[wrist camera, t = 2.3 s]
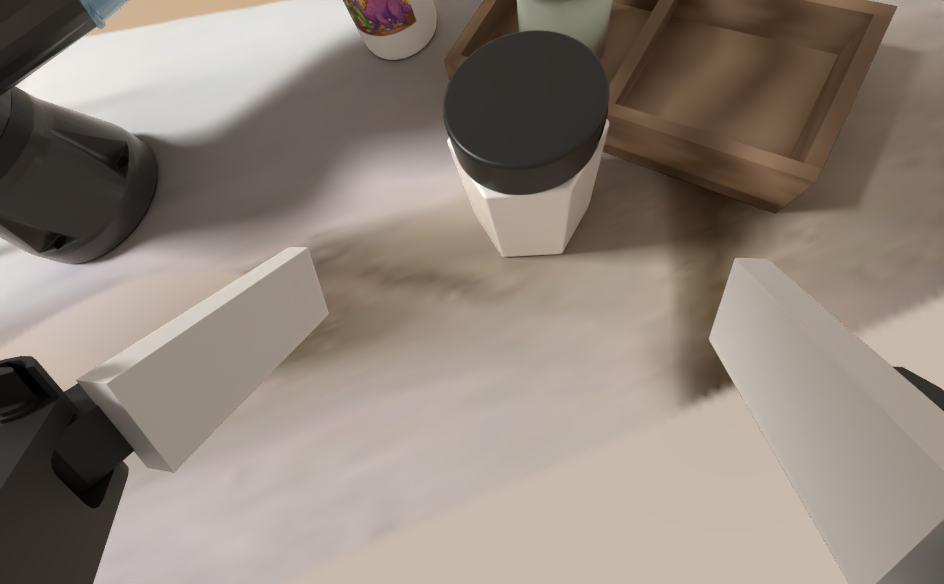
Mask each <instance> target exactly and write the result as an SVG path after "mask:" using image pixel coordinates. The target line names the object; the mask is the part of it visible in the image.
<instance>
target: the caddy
mask: <svg viewBox="0 0 944 584" xmlns="http://www.w3.org/2000/svg"><path fill="white" fill-rule="evenodd" d="M896 8H897V6H893V5H888V4H882V3H877V2H872V1H867V0H613V4H612V9H611V15H610V20H609V26H608V31H607V37H606V43H605V48H604V53H603V56H602V58H601V60H600V61H601V63H602V64H603V66H604V68H605V71H606V73H607V76H608V81H609V103H608V115H607V119H608V121H609V128H608V132H607V136H606V140H605V144H604V148H603V152H605V153H608V154H611V155H614V156H617V157H619V158H622V159H625V160H628V161H630V162H633V163H636V164H639V165H642V166H644V167H647V168H650V169H653V170H656V171H658V172H661V173H664V174H667V175H670V176H672V177H675V178H678V179H681V180H683V181H686V182H689V183H692V184H695V185H697V186H700V187H703V188H706V189H709V190H711V191H714V192H717V193H720V194H723V195H725V196H728V197H731V198H734V199H736V200H739V201H742V202H745V203H748V204H750V205H753V206H756V207H759V208H762V209H764V210H767V211H770V212H773V213H776V212H778V211H779V210H780V209H782V208H783V207H784V206H786V205H787V204H788V203H790V202H791V201H792V200H794V199H795V198H796V197H798V196H799V195H800V194H802V193H803V192H804V191H806V190H807V189H808V188H809V187H811V186H812V185H813V184H815V183H816V182H817V180H818V177H819V175H820V173H821V171H822V169H823V167H824V164H825V162H826V160H827V158H828V156H829V154H830V151H831V149H832V147H833V145H834V143H835V141H836V138H837V136H838V134H839V132H840V130H841V127H842V125H843V123H844V121H845V119H846V117H847V114H848V112H849V110H850V108H851V106H852V104H853V101H854V99H855V97H856V95H857V93H858V91H859V88H860V86H861V84H862V82H863V80H864V78H865V75H866V73H867V71H868V69H869V67H870V65H871V62H872V60H873V58H874V56H875V54H876V52H877V49H878V47H879V45H880V43H881V41H882V39H883V36H884V34H885V32H886V30H887V28H888V26H889V23H890V21H891V19H892V17H893V15H894V13H895V10H896ZM516 32H519V25H518V11H517V0H484V1H483V3H482V4H481V6H480V7H479V9H478V10H477V12H476V13H475V15H474V16H473V18H472V19H471V21H470V22H469V24H468V25H467V27H466V28H465V30H464V31H463V33H462V34H461V36H460V37H459V39H458V40H457V42H456V43H455V45H454V46H453V48H452V49H451V51H450V53H449V54H448V56H447V57H446V59H445V60H444V63H445V67H446V70H447V73H448V77H449V80H451V78H452V76H453V75H454V73H455V72H456V70H457V69H458V67H459V66H460V65H461V64H462V63H463V62H464V61H465V59H467V58H468V57H469V56H470V55H471V54H472V53H473V52H475V51H476V50H477V49H479V48H480V47H482V46H483V45H485V44H487V43H489V42H491V41H493V40H495V39H497V38H500V37H502V36H505V35H508V34H512V33H516Z"/></svg>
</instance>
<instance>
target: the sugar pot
mask: <svg viewBox="0 0 944 584" xmlns="http://www.w3.org/2000/svg"><path fill="white" fill-rule="evenodd" d="M612 4H613V0H517V11H518V25H519V32H522V31H532V30H543V31H552V32H557V33H561V34H565V35H567V36H570V37H572V38H575V39H577V40H578V41H580V42H582V43H583V44H585V45H586V46H587V47H589V48H590V49H591V50H592V51H593V52H594V53H595V55H596V56H597V57H598V58H599V60H601V58H602V56H603V53H604V48H605V43H606V37H607V31H608V26H609V20H610V15H611V9H612Z"/></svg>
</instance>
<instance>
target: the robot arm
mask: <svg viewBox="0 0 944 584" xmlns="http://www.w3.org/2000/svg"><path fill="white" fill-rule="evenodd" d="M128 1H129V0H0V237H1V238H2V239H4V240H6V241H8V242H10V243H12V244H13V245H15V246H17V247H19V248H21V249H22V250H24V251H26V252H28V253H31V254H33V255H36V256H39V257H43V258H47V259H50V260H54V261H58V262H62V263H67V264H76V263H83V262H87V261H90V260H93V259H95V258H98V257H100V256H102V255H104V254H105V253H107V252H108V251H110V250H112V249H113V248H114V247H116V246H117V245H118V244H119V243H121V242H122V241H123V240H124V239H125V238H126V237H127V236H128V235H129V234H130V233H131V232H132V230H133V229H134V228H135V227H136V225H137V224H138V223H139V221H140V220H141V218H142V217H143V215H144V214H145V212H146V210H147V208H148V206H149V204H150V202H151V199H152V196H153V193H154V190H155V186H156V179H157V166H156V161H155V157H154V155H153V152H152V151H151V149H150V148H149V146H148V145H147V144H146V143H145V142H143V141H142V140H140V139H139V138H137V137H135V136H134V135H132V134H131V133H129V132H127V131H126V130H124V129H123V128H121V127H119V126H116V125H114V124H112V123H109V122H106V121H103V120H100V119H97V118H94V117H91V116H88V115H85V114H82V113H79V112H76V111H73V110H70V109H67V108H64V107H61V106H58V105H55V104H52V103H49V102H46V101H43V100H40V99H37V98H35V97H33V96H31V95H29V94H28V93H26V92H24V91H22V90H21V89H19V88H17V87H15V85H17V84H18V83H20V82H21V81H22V80H24V79H25V78H26V77H28V76H29V75H31V74H32V73H33V72H35V71H36V70H37V69H39V68H40V67H42V66H43V65H44V64H46V63H47V62H48V61H50V60H51V59H53V58H54V57H55V56H57V55H58V54H59V53H61V52H62V51H64V50H65V49H66V48H68V47H69V46H71V45H72V44H73V43H75V42H76V41H77V40H79V39H80V38H82V37H83V36H84V35H86V34H87V33H88V32H90V31H91V30H93V29H94V28H95V27H98V28H100V29H102V28H103V27H104V26H105V20H107V19H108V18H109V17H110V16H112V15H113V14H114V13H115V12H116V11H118V10H119V9H120V8H121V7H123V6H124V5H125V4H126V3H127V2H128ZM328 314H329V313H328V310H327V307H326V303H325V300H324V297H323V294H322V290H321V287H320V284H319V281H318V278H317V274H316V271H315V268H314V265H313V262H312V258H311V255H310V252H309V249H308V247H288V248H286V249H285V250H283V251H282V252H280V253H278V254H277V255H275V256H274V257H272V258H270V259H269V260H267V261H266V262H264V263H262V264H261V265H259V266H258V267H256V268H254V269H253V270H251V271H250V272H248V273H246V274H245V275H243V276H242V277H240V278H238V279H237V280H235V281H234V282H232V283H230V284H229V285H227V286H226V287H224V288H222V289H221V290H219V291H218V292H216V293H214V294H213V295H211V296H210V297H208V298H207V299H205V300H204V301H202V302H200V303H198V304H197V305H195V306H194V307H192V308H191V309H189V310H187V311H186V312H184V313H183V314H181V315H179V316H178V317H176V318H175V319H173V320H171V321H170V322H168V323H167V324H165V325H163V326H162V327H160V328H159V329H157V330H155V331H154V332H152V333H151V334H149V335H147V336H146V337H144V338H143V339H141V340H139V341H138V342H136V343H135V344H133V345H131V346H130V347H128V348H127V349H125V350H124V351H122V352H120V353H119V354H117V355H115V356H114V357H112V358H111V359H109V360H107V361H106V362H104V363H103V364H101V365H99V366H98V367H96V368H95V369H93V370H91V371H90V372H88V373H87V374H85V375H84V376H82V377H81V378H79V379H77V382H78V384H76V385H75V386H73V387H71V388H70V389H68V390H67V391H65V392H63V391H62V390H61V388H60V387H59V386H58V385H57V384H56V383H55V381H54V380H53V379H52V378H51V377H50V376H49V374H48V373H47V372H46V371H45V370H44V369H43V367H42V366H41V365H40V364H39V363H38V362H37V360H36V359H34V358H33V357H31V356H20V357H15V358H9V359H4V360H1V361H0V584H93V582H94V579H95V576H96V573H97V570H98V567H99V563H100V560H101V557H102V554H103V551H104V548H105V545H106V542H107V539H108V536H109V533H110V530H111V527H112V523H113V520H114V517H115V514H116V511H117V508H118V505H119V502H120V499H121V496H122V493H123V490H124V486H125V483H126V480H127V477H128V466H127V465H126V464H125V463H124V462H123V460H124V459H125V458H126V457H127V456H129V455H130V454H131V453H132V452H133V451H134V452H135V453H136V454H137V455H138V457H139V458H140V459H141V460H142V462H143V463H144V464H145V465H146V466H147V468H151V469H157V470H162V471H168V472H173V473H174V472H175V471H176V470H177V469H178V468H179V467H180V466H181V465H182V464H183V463H184V462H185V461H186V460H187V459H188V458H189V457H190V456H191V455H192V454H193V453H194V452H195V451H196V450H197V449H198V448H199V447H200V445H201V444H202V443H203V442H204V441H205V440H206V439H207V438H208V437H209V436H210V435H211V434H212V433H213V432H214V431H215V430H216V429H217V428H218V427H219V426H220V425H221V424H222V423H223V422H224V421H225V420H226V419H227V418H228V417H229V416H230V415H231V414H232V413H233V412H234V411H235V410H236V409H237V408H238V407H239V405H240V404H241V403H242V402H243V401H244V400H245V399H246V398H247V397H248V396H249V395H250V394H251V393H252V392H253V391H254V390H255V389H256V388H257V387H258V386H259V385H260V384H261V383H262V382H263V381H264V380H265V379H266V378H267V377H268V376H269V375H270V374H271V373H272V372H273V371H274V370H275V369H276V368H277V367H278V365H279V364H280V363H281V362H282V361H283V360H284V359H285V358H286V357H287V356H288V355H289V354H290V353H291V352H292V351H293V350H294V349H295V348H296V347H297V346H298V345H299V344H300V343H301V342H302V341H303V340H304V339H305V338H306V337H307V336H308V335H309V334H310V333H311V332H312V331H313V330H314V329H315V328H316V327H317V325H318V324H319V323H320V322H321V321H322V320H323V319H324V318H325V317H326V316H327V315H328ZM709 341H710V342H711V344H712V346H713V348H714V349H715V351H716V353H717V355H718V356H719V358H720V360H721V362H722V363H723V365H724V367H725V369H726V370H727V372H728V374H729V376H730V377H731V379H732V381H733V383H734V384H735V386H736V388H737V390H738V391H739V393H740V395H741V397H742V398H743V400H744V402H745V404H746V405H747V407H748V409H749V411H750V412H751V414H752V416H753V418H754V419H755V421H756V423H757V424H758V426H759V428H760V430H761V431H762V433H763V435H764V437H765V438H766V440H767V442H768V444H769V445H770V447H771V449H772V451H773V452H774V454H775V456H776V458H777V459H778V461H779V463H780V464H781V466H782V468H783V470H784V472H785V473H786V475H787V477H788V478H789V480H790V482H791V484H792V485H793V487H794V489H795V491H796V493H797V494H798V496H799V498H800V499H801V501H802V503H803V504H804V506H805V508H806V510H807V512H808V514H809V515H810V517H811V519H812V520H813V522H814V524H815V526H816V527H817V529H818V531H819V533H820V534H821V536H822V538H823V540H824V541H825V543H826V545H827V547H828V548H829V550H830V552H831V553H832V555H833V557H834V559H835V561H836V562H837V564H838V566H839V568H840V569H841V571H842V573H843V575H844V576H845V578H846V580H847V582H848V583H849V584H944V391H943V390H942V389H941V388H940V387H938V386H936V385H934V384H932V383H930V382H929V381H927V380H925V379H923V378H921V377H920V376H918V375H916V374H914V373H912V372H911V371H909V370H907V369H905V368H903V367H892V366H891V365H890V364H888V363H887V362H886V361H885V360H884V359H883V358H881V357H880V356H879V355H878V354H877V353H876V352H874V351H873V350H872V349H871V348H870V347H869V346H868V345H867V344H865V343H864V342H863V341H862V340H861V339H860V338H858V337H857V336H856V335H855V334H854V333H853V332H852V331H850V330H849V329H848V328H847V327H846V326H845V325H843V324H842V323H841V322H840V321H839V320H838V319H837V318H835V317H834V316H833V315H832V314H831V313H830V312H828V311H827V310H826V309H825V308H824V307H823V306H822V305H820V304H819V303H818V302H817V301H816V300H815V299H813V298H812V297H811V296H810V295H809V294H808V293H807V292H805V291H804V290H803V289H802V288H801V287H800V286H798V285H797V284H796V283H795V282H794V281H793V280H792V279H790V278H789V277H788V276H787V275H786V274H785V273H783V272H782V271H781V270H780V269H779V268H778V267H777V266H775V265H774V264H773V263H772V262H771V261H770V260H768V259H759V258H735V260H734V263H733V266H732V269H731V272H730V275H729V278H728V282H727V285H726V288H725V291H724V294H723V297H722V300H721V303H720V306H719V309H718V312H717V315H716V318H715V321H714V324H713V327H712V330H711V334H710V337H709Z"/></svg>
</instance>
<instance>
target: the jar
mask: <svg viewBox="0 0 944 584" xmlns="http://www.w3.org/2000/svg"><path fill="white" fill-rule="evenodd" d="M608 103H609V81H608V76H607V73H606V71H605V68H604V66H603V64H602V63H601V61H600V60H599V58H598V57H597V56H596V55H595V53H594V52H593V51H592V50H591V49H590V48H589V47H587V46H586V45H585V44H583V43H582V42H580V41H578V40H577V39H575V38H572V37H570V36H567V35H565V34H561V33H557V32H552V31H543V30H532V31H522V32H516V33H512V34H508V35H505V36H502V37H500V38H497V39H495V40H493V41H491V42H489V43H487V44H485V45H483V46H482V47H480V48H479V49H477V50H476V51H475V52H473V53H472V54H471V55H470V56H469V57H468V58H467V59H465V61H464V62H463V63H462V64H461V65H460V66H459V67H458V69H457V70H456V72H455V73H454V75H453V76H452V78H451V80H450V82H449V84H448V87H447V89H446V92H445V96H444V101H443V118H444V124H445V127H446V130H447V133H448V136H449V138H448V140H447V144H448V146H449V149H450V151H451V154H452V156H453V159H454V162H455V164H456V167H457V169H458V172H459V175H460V177H461V180H462V182H463V185H464V187H465V190H466V193H467V195H468V198H469V200H470V203H471V206H472V208H473V211H474V213H475V215H476V217H477V218H478V220H479V221H480V223H481V225H482V226H483V228H484V229H485V231H486V232H487V234H488V236H489V237H490V239H491V240H492V242H493V243H494V245H495V246H496V248H497V250H498V251H499V253H500V254H501V256H503V257H512V256H531V255H550V254H561V253H563V251H564V249H565V248H566V246H567V244H568V242H569V241H570V239H571V237H572V235H573V233H574V232H575V230H576V228H577V226H578V224H579V223H580V221H581V219H582V217H583V216H584V214H585V212H586V210H587V208H588V207H589V204H590V200H591V196H592V192H593V188H594V184H595V180H596V176H597V172H598V168H599V164H600V160H601V156H602V152H603V148H604V144H605V140H606V136H607V132H608V128H609V121H608V119H607V115H608Z"/></svg>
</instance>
